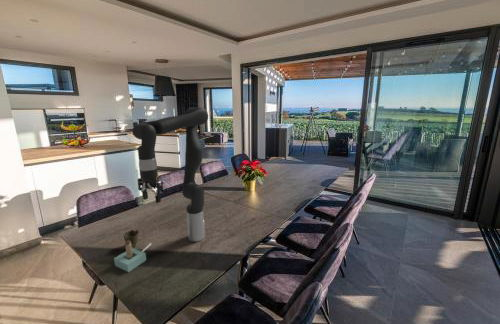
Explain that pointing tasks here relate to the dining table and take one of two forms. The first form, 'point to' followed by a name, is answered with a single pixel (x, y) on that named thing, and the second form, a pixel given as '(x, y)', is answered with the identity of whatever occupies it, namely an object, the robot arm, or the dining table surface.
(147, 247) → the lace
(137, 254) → the teal open tray
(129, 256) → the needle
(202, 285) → the dining table surface
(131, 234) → the cup
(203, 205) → the robot arm
